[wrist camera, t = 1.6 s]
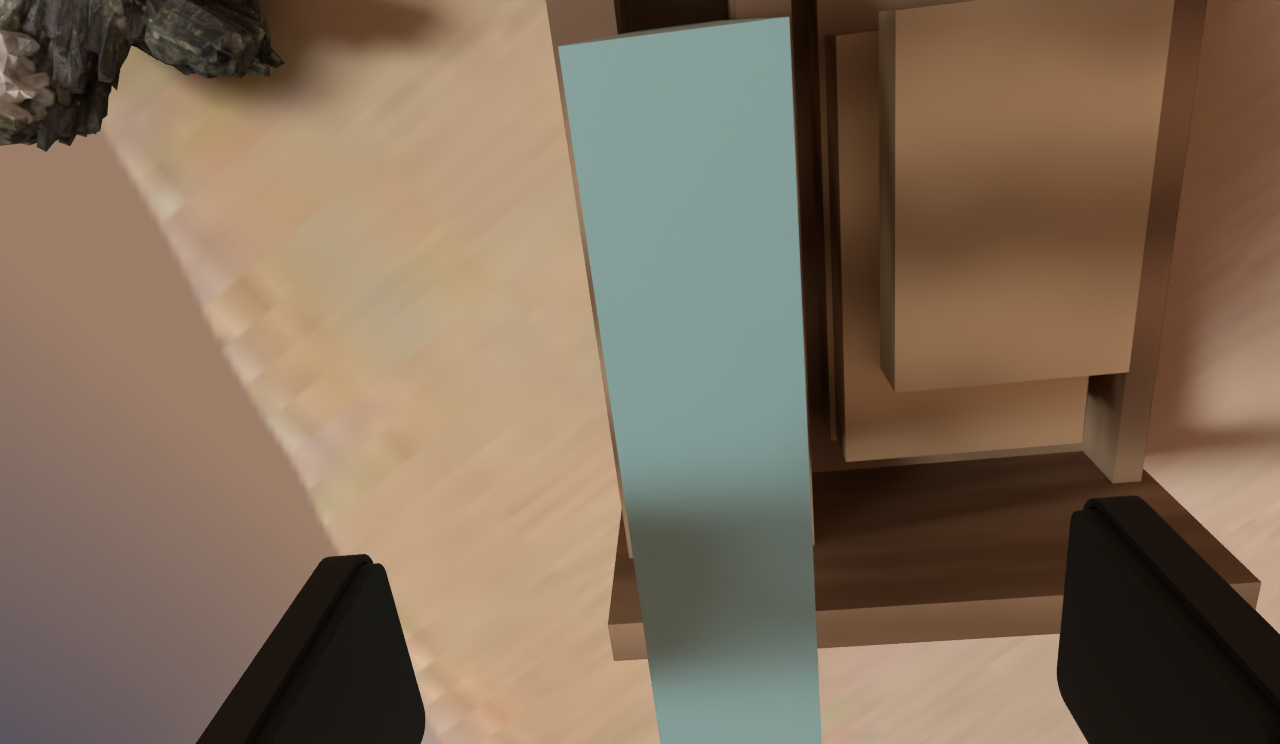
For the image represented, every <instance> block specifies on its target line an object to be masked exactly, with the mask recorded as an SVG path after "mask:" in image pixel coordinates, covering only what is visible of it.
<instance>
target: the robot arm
mask: <svg viewBox="0 0 1280 744" xmlns="http://www.w3.org/2000/svg"><path fill="white" fill-rule="evenodd" d="M1057 680H1058V686H1059V690H1060V693H1061V696H1062V698H1063V700H1064V702H1065V704H1066V706H1067V707H1068V709H1069V711H1070V713H1071V714H1072V716H1073V718H1074V719H1075V721H1076V723H1077V725H1078V726H1079V728H1080V730H1081V731H1082V733H1083V735H1084V737H1085V738H1086V740H1087V742H1088V743H1089V744H1280V634H1279V633H1278V632H1277V631H1276V630H1275V629H1274V628H1273V627H1272V626H1271V625H1270V624H1269V623H1268V622H1267V621H1266V620H1265V619H1264V618H1263V617H1262V616H1261V615H1260V614H1259V613H1258V612H1257V611H1256V610H1255V609H1254V608H1253V607H1252V606H1251V605H1250V604H1248V603H1247V602H1246V601H1245V600H1244V599H1243V598H1242V597H1241V596H1240V595H1239V594H1238V593H1237V592H1236V591H1235V590H1234V589H1233V588H1232V587H1231V586H1230V585H1229V584H1228V583H1227V582H1226V581H1225V580H1224V579H1223V578H1222V577H1221V576H1220V575H1219V574H1218V573H1217V572H1216V571H1215V570H1214V569H1213V568H1212V567H1211V566H1210V565H1209V564H1208V563H1207V562H1206V561H1205V560H1204V559H1203V558H1202V557H1201V556H1200V555H1199V554H1198V553H1197V552H1196V551H1195V550H1194V549H1193V548H1192V547H1191V546H1190V545H1189V544H1188V543H1187V542H1186V541H1185V540H1184V539H1183V538H1182V537H1181V536H1180V535H1179V534H1178V533H1177V532H1176V531H1175V530H1174V529H1173V528H1172V527H1171V526H1170V525H1169V524H1168V523H1167V522H1166V521H1165V520H1164V519H1163V518H1162V517H1161V516H1160V515H1159V514H1158V513H1157V512H1156V511H1155V510H1154V509H1153V508H1152V507H1150V506H1149V505H1148V504H1147V503H1146V502H1145V501H1144V500H1143V499H1142V498H1140V497H1139V496H1135V495H1129V496H1116V497H1103V498H1090V499H1089V500H1087V501H1086V503H1085V505H1084V508H1083V510H1079V511H1075V512H1073V514H1072V516H1071V520H1070V530H1069V541H1068V552H1067V563H1066V574H1065V585H1064V596H1063V607H1062V618H1061V629H1060V640H1059V651H1058V662H1057ZM424 730H425V710H424V706H423V702H422V699H421V695H420V692H419V688H418V684H417V681H416V677H415V674H414V670H413V667H412V663H411V659H410V656H409V652H408V649H407V645H406V642H405V638H404V634H403V631H402V627H401V624H400V620H399V617H398V613H397V609H396V606H395V602H394V599H393V595H392V592H391V588H390V584H389V581H388V577H387V574H386V571H385V568H384V567H383V566H382V564H379V563H377V564H373V561H372V559H371V558H370V557H369V556H368V555H366V554H359V555H346V556H333V557H326V558H324V559H323V560H322V561H321V562H320V563H319V565H318V566H317V567H316V569H315V570H314V572H313V573H312V575H311V576H310V578H309V579H308V581H307V582H306V584H305V585H304V586H303V588H302V589H301V591H300V592H299V594H298V595H297V597H296V598H295V599H294V601H293V602H292V604H291V605H290V607H289V608H288V610H287V611H286V613H285V614H284V616H283V617H282V619H281V620H280V622H279V623H278V624H277V626H276V627H275V629H274V630H273V632H272V633H271V635H270V636H269V638H268V639H267V640H266V642H265V643H264V645H263V646H262V648H261V649H260V651H259V652H258V653H257V655H256V656H255V658H254V659H253V661H252V662H251V664H250V666H249V667H248V668H247V670H246V671H245V672H244V674H243V675H242V677H241V678H240V680H239V681H238V683H237V684H236V686H235V687H234V689H233V690H232V691H231V693H230V694H229V696H228V697H227V699H226V700H225V702H224V703H223V705H222V706H221V707H220V709H219V711H218V712H217V713H216V715H215V716H214V718H213V719H212V721H211V722H210V724H209V725H208V726H207V728H206V729H205V731H204V732H203V734H202V735H201V737H200V738H199V740H198V741H197V742H196V744H421V741H422V738H423V735H424Z"/></svg>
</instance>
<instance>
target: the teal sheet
mask: <svg viewBox="0 0 1280 744" xmlns="http://www.w3.org/2000/svg"><path fill="white" fill-rule="evenodd" d="M558 50H559V57H560V64H561V70H562V77H563V84H564V91H565V98H566V104H567V111H568V118H569V125H570V132H571V138H572V145H573V152H574V159H575V166H576V172H577V179H578V186H579V193H580V200H581V206H582V213H583V220H584V227H585V234H586V240H587V247H588V254H589V261H590V268H591V274H592V281H593V288H594V295H595V302H596V308H597V315H598V322H599V329H600V336H601V342H602V349H603V356H604V363H605V370H606V376H607V383H608V390H609V397H610V403H611V410H612V417H613V424H614V431H615V437H616V444H617V451H618V458H619V465H620V471H621V478H622V485H623V492H624V499H625V505H626V512H627V519H628V526H629V533H630V539H631V546H632V553H633V560H634V567H635V573H636V580H637V587H638V594H639V601H640V607H641V614H642V621H643V628H644V635H645V641H646V648H647V655H648V662H649V669H650V675H651V682H652V689H653V696H654V703H655V709H656V716H657V723H658V730H659V737H660V743H661V744H821V723H820V701H819V678H818V656H817V633H816V610H815V588H814V565H813V543H812V520H811V497H810V475H809V452H808V430H807V407H806V384H805V362H804V339H803V317H802V294H801V272H800V249H799V226H798V204H797V181H796V159H795V136H794V113H793V91H792V68H791V46H790V23H789V17H773V18H755V19H736V20H717V21H708V22H700V23H693V24H685V25H677V26H669V27H662V28H654V29H646V30H639V31H634V32H629V33H624V34H619V35H613V36H608V37H603V38H598V39H593V40H588V41H583V42H578V43H573V44H568V45H563V46H558Z"/></svg>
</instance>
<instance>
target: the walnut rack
mask: <svg viewBox="0 0 1280 744" xmlns="http://www.w3.org/2000/svg"><path fill="white" fill-rule="evenodd" d="M546 4H547V10H548V17H549V24H550V31H551V37H552V44H553V51H554V57H555V64H556V71H557V77H558V84H559V91H560V98H561V104H562V111H563V118H564V124H565V131H566V138H567V144H568V151H569V158H570V164H571V171H572V178H573V185H574V191H575V198H576V205H577V211H578V218H579V225H580V231H581V238H582V245H583V251H584V258H585V265H586V272H587V278H588V285H589V292H590V298H591V305H592V312H593V318H594V325H595V332H596V338H597V345H598V352H599V359H600V365H601V372H602V379H603V385H604V392H605V399H606V405H607V412H608V419H609V426H610V432H611V439H612V446H613V452H614V459H615V466H616V472H617V479H618V486H619V492H620V499H621V506H622V511H621V520H620V528H619V536H618V545H617V553H616V562H615V570H614V579H613V587H612V595H611V604H610V612H609V621H608V628H609V634H610V640H611V646H612V652H613V658H614V661H621V660H637V659H648V655H647V648H646V641H645V635H644V628H643V621H642V614H641V607H640V601H639V594H638V587H637V580H636V573H635V567H634V560H633V553H632V546H631V539H630V533H629V526H628V519H627V512H626V505H625V499H624V492H623V485H622V478H621V471H620V465H619V458H618V451H617V444H616V437H615V431H614V424H613V417H612V410H611V403H610V397H609V390H608V383H607V376H606V370H605V363H604V356H603V349H602V342H601V336H600V329H599V322H598V315H597V308H596V302H595V295H594V288H593V281H592V274H591V268H590V261H589V254H588V247H587V240H586V234H585V227H584V220H583V213H582V206H581V200H580V193H579V186H578V179H577V172H576V166H575V159H574V152H573V145H572V138H571V132H570V125H569V118H568V111H567V104H566V98H565V91H564V84H563V77H562V70H561V64H560V57H559V50H558V46H563V45H568V44H573V43H578V42H583V41H588V40H593V39H598V38H603V37H608V36H613V35H619V34H624V33H629V32H634V31H639V30H646V29H654V28H662V27H669V26H677V25H685V24H693V23H700V22H708V21H717V20H736V19H755V18H773V17H789V23H790V46H791V68H792V91H793V113H794V136H795V159H796V181H797V204H798V226H799V249H800V272H801V294H802V317H803V339H804V362H805V384H806V407H807V430H808V452H809V475H810V497H811V520H812V543H813V565H814V588H815V610H816V633H817V648H833V647H849V646H865V645H881V644H898V643H914V642H930V641H947V640H963V639H979V638H995V637H1012V636H1028V635H1044V634H1060V629H1061V618H1062V607H1063V596H1064V585H1065V574H1066V563H1067V552H1068V541H1069V530H1070V520H1071V516H1072V514H1073V512H1075V511H1079V510H1083V508H1084V505H1085V503H1086V501H1087V500H1089V499H1090V498H1103V497H1116V496H1129V495H1135V496H1139V497H1140V498H1142V499H1143V500H1144V501H1145V502H1146V503H1147V504H1148V505H1149V506H1150V507H1152V508H1153V509H1154V510H1155V511H1156V512H1157V513H1158V514H1159V515H1160V516H1161V517H1162V518H1163V519H1164V520H1165V521H1166V522H1167V523H1168V524H1169V525H1170V526H1171V527H1172V528H1173V529H1174V530H1175V531H1176V532H1177V533H1178V534H1179V535H1180V536H1181V537H1182V538H1183V539H1184V540H1185V541H1186V542H1187V543H1188V544H1189V545H1190V546H1191V547H1192V548H1193V549H1194V550H1195V551H1196V552H1197V553H1198V554H1199V555H1200V556H1201V557H1202V558H1203V559H1204V560H1205V561H1206V562H1207V563H1208V564H1209V565H1210V566H1211V567H1212V568H1213V569H1214V570H1215V571H1216V572H1217V573H1218V574H1219V575H1220V576H1221V577H1222V578H1223V579H1224V580H1225V581H1226V582H1227V583H1228V584H1229V585H1230V586H1231V587H1232V588H1233V589H1234V590H1235V591H1236V592H1237V593H1238V594H1239V595H1240V596H1241V597H1242V598H1243V599H1244V600H1245V601H1246V602H1247V603H1248V604H1250V605H1251V606H1252V607H1253V608H1254V609H1256V605H1257V600H1258V595H1259V591H1260V586H1261V581H1260V580H1259V579H1257V578H1256V577H1255V576H1254V575H1253V574H1252V573H1251V572H1250V571H1249V570H1248V569H1247V568H1246V567H1245V566H1244V565H1243V564H1242V563H1241V562H1240V561H1239V560H1238V559H1237V558H1236V557H1235V556H1234V555H1233V554H1232V553H1230V552H1229V551H1228V550H1227V549H1226V548H1225V547H1224V546H1223V545H1222V544H1221V543H1220V542H1219V541H1218V540H1217V539H1216V538H1215V537H1214V536H1213V535H1212V534H1211V533H1210V532H1209V531H1208V530H1207V529H1206V528H1204V527H1203V526H1202V525H1201V524H1200V523H1199V522H1198V521H1197V520H1196V519H1195V518H1194V517H1193V516H1192V515H1191V514H1190V513H1189V512H1188V511H1187V510H1186V509H1185V508H1184V507H1183V506H1182V505H1181V504H1180V503H1178V502H1177V501H1176V500H1175V499H1174V498H1173V497H1172V496H1171V495H1170V494H1169V493H1168V492H1167V491H1166V490H1165V489H1164V488H1163V487H1162V486H1161V485H1160V484H1159V483H1158V482H1157V481H1156V480H1155V479H1154V478H1153V477H1151V476H1150V475H1149V474H1148V473H1147V472H1146V471H1145V470H1144V469H1143V464H1144V456H1145V449H1146V442H1147V435H1148V427H1149V420H1150V413H1151V405H1152V398H1153V391H1154V384H1155V376H1156V369H1157V362H1158V354H1159V347H1160V340H1161V333H1162V325H1163V318H1164V311H1165V303H1166V296H1167V289H1168V282H1169V274H1170V267H1171V260H1172V252H1173V245H1174V238H1175V230H1176V223H1177V216H1178V209H1179V201H1180V194H1181V187H1182V179H1183V172H1184V165H1185V158H1186V150H1187V143H1188V136H1189V128H1190V121H1191V114H1192V107H1193V99H1194V92H1195V85H1196V77H1197V70H1198V63H1199V55H1200V48H1201V41H1202V34H1203V26H1204V19H1205V12H1206V4H1207V0H1175V1H1174V9H1173V17H1172V25H1171V33H1170V41H1169V49H1168V58H1167V66H1166V74H1165V82H1164V90H1163V98H1162V106H1161V114H1160V123H1159V131H1158V139H1157V147H1156V155H1155V163H1154V171H1153V179H1152V188H1151V196H1150V204H1149V212H1148V220H1147V228H1146V236H1145V244H1144V253H1143V261H1142V269H1141V277H1140V285H1139V293H1138V301H1137V309H1136V318H1135V326H1134V334H1133V342H1132V350H1131V358H1130V366H1129V372H1126V373H1115V374H1103V375H1092V376H1089V379H1088V388H1087V398H1086V408H1085V418H1084V427H1083V437H1082V443H1075V444H1063V445H1050V446H1038V447H1026V448H1013V449H1001V450H988V451H976V452H964V453H951V454H939V455H927V456H914V457H902V458H890V459H877V460H865V461H852V462H846V460H845V457H844V455H843V452H842V450H841V447H840V444H839V442H838V440H835V441H831V439H830V437H829V434H828V431H827V428H826V426H825V423H824V420H823V417H822V391H821V363H820V335H819V308H818V280H817V252H816V225H815V197H814V169H813V141H812V114H811V86H810V58H809V30H808V3H807V0H546Z"/></svg>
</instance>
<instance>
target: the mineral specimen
mask: <svg viewBox="0 0 1280 744" xmlns="http://www.w3.org/2000/svg"><path fill="white" fill-rule="evenodd" d="M131 45H132V46H135V47H137V48H139V49H140V50H142V51H144V52H145V53H147V54H149V55H150V56H152V57H154V58H155V59H157V60H160V61H162V62H163V63H165V64H168V65H171V66H174V67H175V68H176V69H178V70H179V71H180V72H182V73H183V74H185V75H189V74H192V73H195V72H196V73H198V74H200V75H202V76H204V77H206V78H207V79H208V78H213V77H217V76H232V75H234V76H237V77H239V78H242V77H243V76H244V75H245V74H246V73H247V72H248V73H250V74H254V75H263V76H270V70H269V66H272V67H275V68H277V67H279V66H281V65H282V64H284V61H283V60H282V59H281V58H280V57H279V56H278V55H277V53H276V52H275V51H274V50H273V49H272V48H271V40H270V34H269V30H268V26H267V22H266V19H265V18H264V17H263V16H262V15H260V10H259V3H258V0H0V145H11V144H19V143H21V144H26V145H31V144H35V143H37V147H38V148H40V149H42V150H44V151H47V150H48V149H49V148H50V147H51V145H52V144H53V143H54V142H55V141H56V140H58V139H59V142H60V143H63V144H66V145H68V146H71V144H72V142H73V140H74V138H75V136H76V135H77V134H78V135H81V136H84V137H87V134H92V133H93V134H96V133H97V132H99V131H100V129H101V124H102V119H103V118H104V117H106V116H107V112H108V97H109V94H110V92H111V87H112V86H113V87H114V88H115V89H116V90H117V87H118V81H119V74H120V68H121V66H122V64H123V63H124V61H125V59H126V58H127V56H128V53H129V50H130V48H131ZM263 63H264V64H267V65H269V66H266V65H264V64H263Z"/></svg>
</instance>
